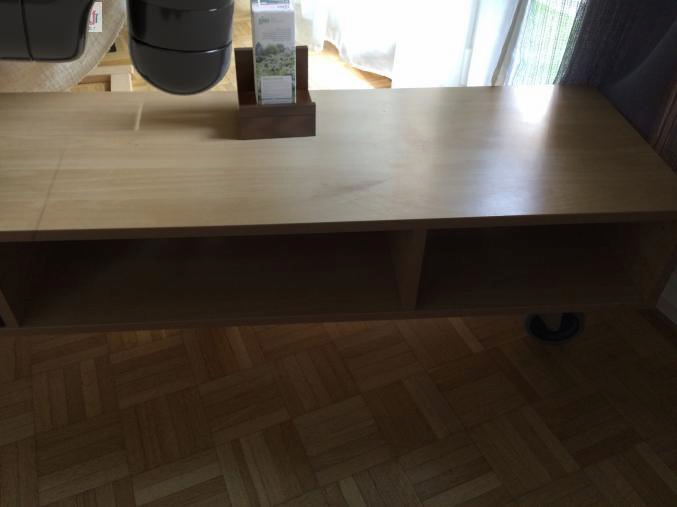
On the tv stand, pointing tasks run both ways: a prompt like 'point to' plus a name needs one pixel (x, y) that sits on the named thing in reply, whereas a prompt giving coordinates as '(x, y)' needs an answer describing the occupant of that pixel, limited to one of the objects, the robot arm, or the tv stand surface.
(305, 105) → the spice rack
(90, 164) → the tv stand surface
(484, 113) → the tv stand surface
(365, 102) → the tv stand surface
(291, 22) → the syrup box
